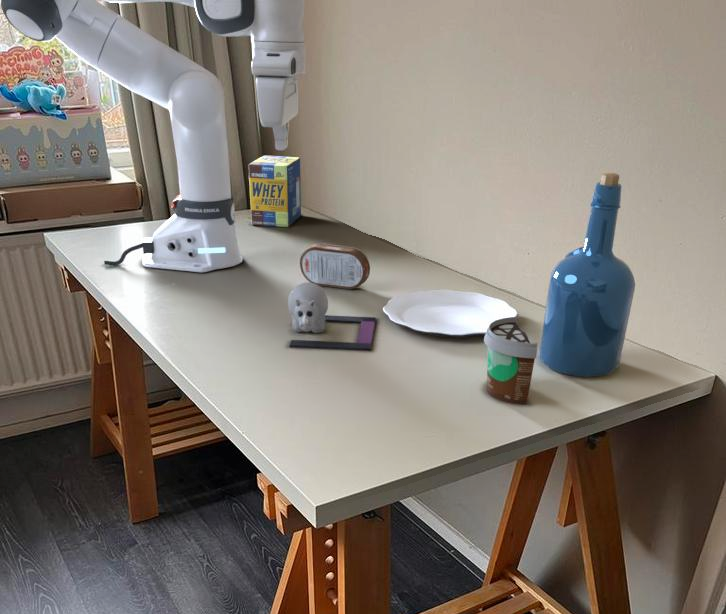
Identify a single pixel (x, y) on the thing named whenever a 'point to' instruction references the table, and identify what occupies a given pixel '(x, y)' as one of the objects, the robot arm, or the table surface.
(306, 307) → the toy rhinoceros
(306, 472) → the table surface
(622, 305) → the wine bottle
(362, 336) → the u-shaped frame
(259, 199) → the protein box
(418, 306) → the plate
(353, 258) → the tin
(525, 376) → the food container
